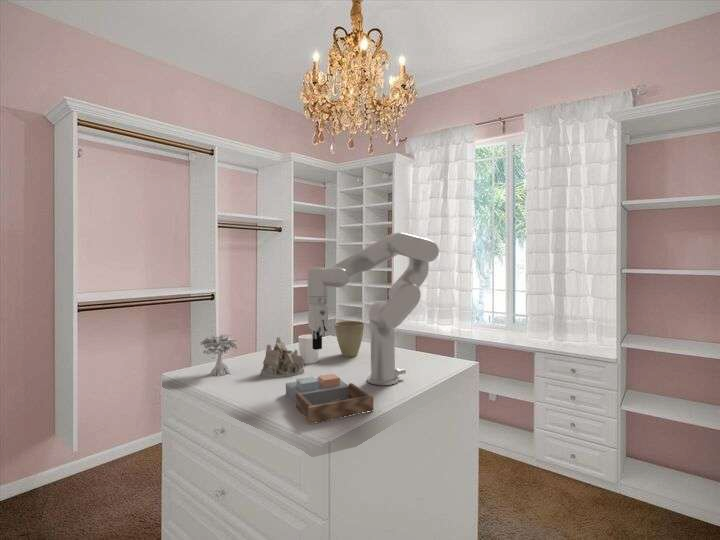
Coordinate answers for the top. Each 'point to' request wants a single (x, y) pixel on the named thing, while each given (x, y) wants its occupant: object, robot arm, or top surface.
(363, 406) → the box
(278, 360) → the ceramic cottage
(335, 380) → the terracotta tile
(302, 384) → the blue-grey tile
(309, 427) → the top surface
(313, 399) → the grey flat block
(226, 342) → the tree
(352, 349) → the plant pot
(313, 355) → the candle holder
